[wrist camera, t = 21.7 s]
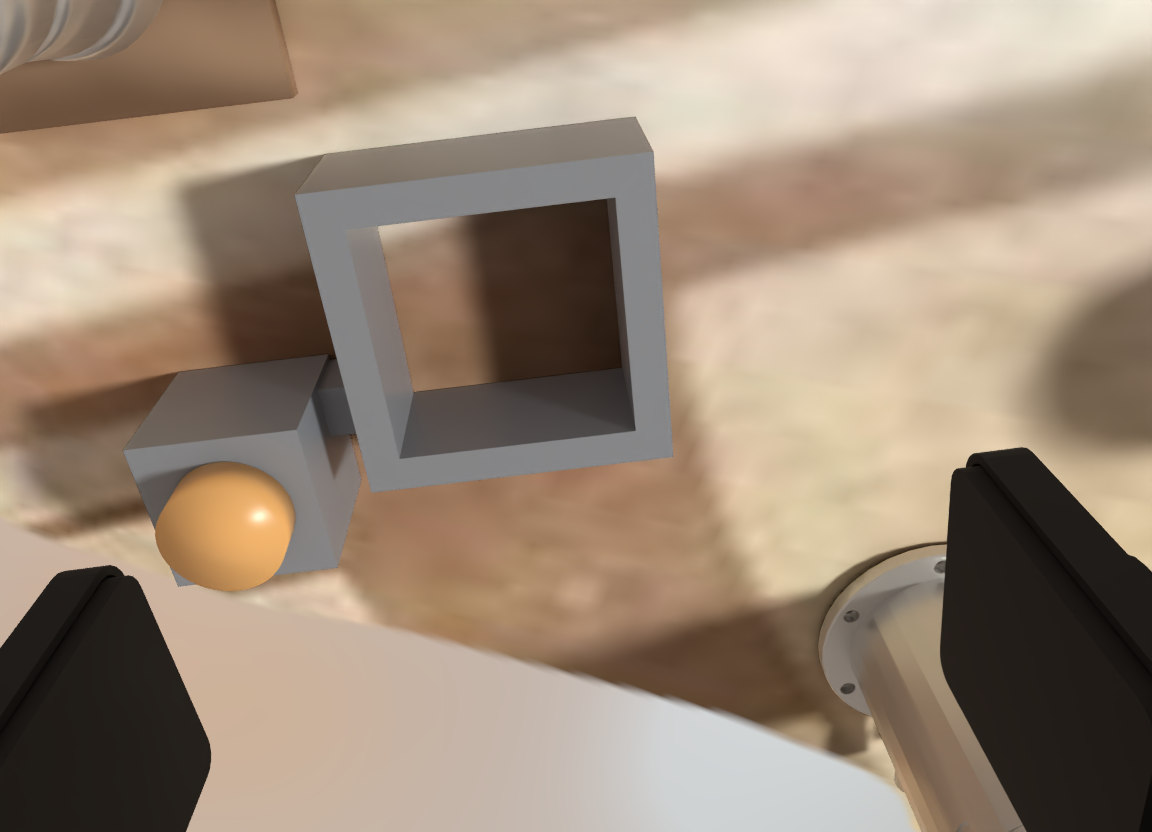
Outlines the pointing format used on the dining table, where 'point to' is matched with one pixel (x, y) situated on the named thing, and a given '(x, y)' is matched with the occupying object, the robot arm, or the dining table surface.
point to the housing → (376, 353)
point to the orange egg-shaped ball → (226, 526)
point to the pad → (159, 69)
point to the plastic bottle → (70, 29)
